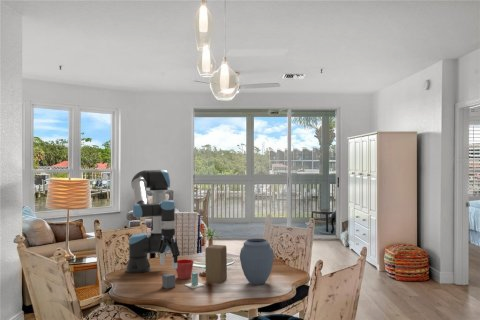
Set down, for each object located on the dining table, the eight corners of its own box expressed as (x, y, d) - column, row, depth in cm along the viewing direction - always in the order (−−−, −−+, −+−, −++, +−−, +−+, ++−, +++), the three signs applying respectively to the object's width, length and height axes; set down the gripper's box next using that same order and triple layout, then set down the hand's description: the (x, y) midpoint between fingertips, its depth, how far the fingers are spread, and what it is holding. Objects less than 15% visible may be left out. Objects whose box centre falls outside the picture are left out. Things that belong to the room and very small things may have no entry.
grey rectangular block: (162, 286, 233) (162, 274, 233) (170, 284, 236) (170, 273, 237) (167, 288, 229) (166, 276, 229) (175, 286, 232) (175, 274, 233)
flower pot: (190, 280, 246) (190, 263, 246) (172, 279, 248) (172, 262, 248) (195, 275, 256) (195, 259, 256) (178, 274, 258) (178, 259, 259)
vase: (250, 290, 224) (249, 244, 224) (234, 281, 241) (233, 239, 242) (281, 285, 233) (280, 241, 233) (263, 277, 250) (262, 236, 251)
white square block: (184, 285, 235) (184, 273, 235) (196, 282, 240) (196, 270, 240) (192, 288, 229) (192, 275, 229) (204, 285, 234) (204, 273, 234)
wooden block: (227, 279, 247) (227, 245, 247) (221, 283, 237) (220, 248, 238) (211, 277, 250) (211, 244, 250) (205, 282, 241) (204, 247, 241)
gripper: (151, 226, 240) (151, 264, 240) (173, 231, 221) (174, 271, 221) (163, 225, 245) (163, 262, 245) (185, 229, 226) (186, 269, 225)
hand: (168, 266), depth 233 cm, fingers open, 13 cm apart
